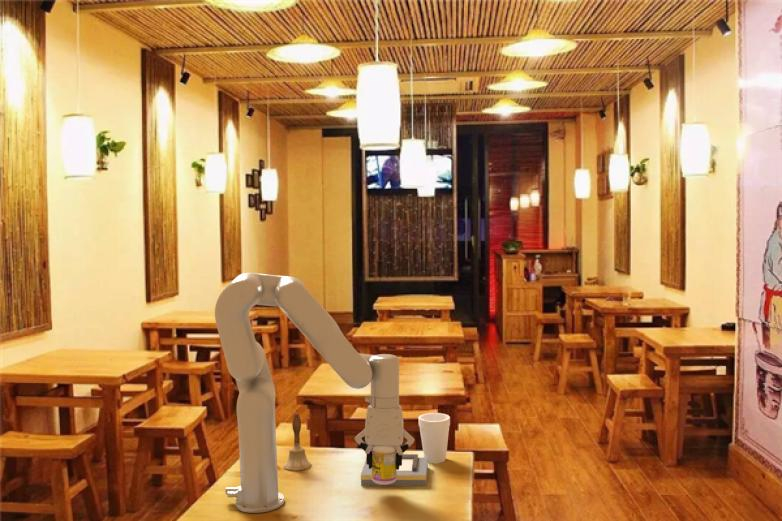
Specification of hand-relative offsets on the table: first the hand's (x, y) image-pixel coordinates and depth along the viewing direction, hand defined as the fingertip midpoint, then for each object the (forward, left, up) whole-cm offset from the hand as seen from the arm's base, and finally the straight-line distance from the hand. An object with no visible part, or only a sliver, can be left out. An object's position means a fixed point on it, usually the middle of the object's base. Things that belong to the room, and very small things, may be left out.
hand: (384, 467), depth 193 cm
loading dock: (+2, +13, -7) cm, 15 cm away
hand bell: (-28, +21, -8) cm, 36 cm away
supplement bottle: (0, 0, -4) cm, 4 cm away
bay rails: (+2, +15, -4) cm, 15 cm away
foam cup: (+13, +27, -8) cm, 31 cm away
